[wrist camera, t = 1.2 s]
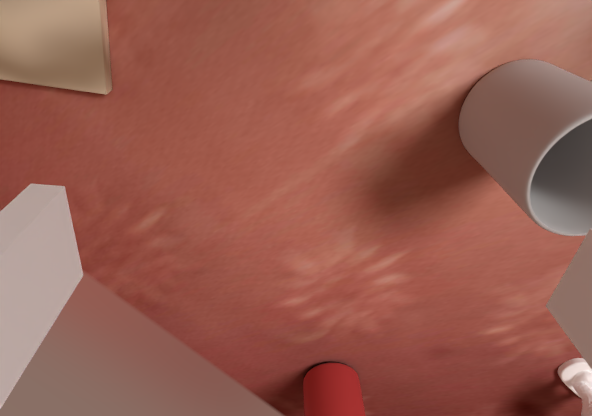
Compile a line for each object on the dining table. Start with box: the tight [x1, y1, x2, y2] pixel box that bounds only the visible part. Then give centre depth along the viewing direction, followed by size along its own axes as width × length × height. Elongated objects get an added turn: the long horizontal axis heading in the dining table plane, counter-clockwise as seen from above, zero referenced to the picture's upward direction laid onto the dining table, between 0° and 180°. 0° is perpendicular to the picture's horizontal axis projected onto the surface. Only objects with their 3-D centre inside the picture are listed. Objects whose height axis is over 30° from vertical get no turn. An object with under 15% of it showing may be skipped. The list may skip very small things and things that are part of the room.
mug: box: [459, 59, 592, 236], centre depth 28 cm, size 12×8×11 cm
